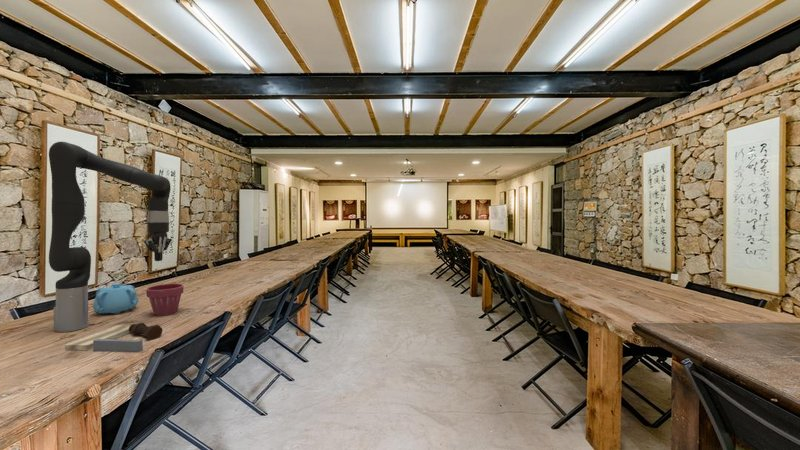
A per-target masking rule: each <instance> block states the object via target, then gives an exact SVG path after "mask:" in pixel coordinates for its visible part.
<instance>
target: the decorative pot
mask: <svg viewBox="0 0 800 450" xmlns="http://www.w3.org/2000/svg"><path fill="white" fill-rule="evenodd" d="M135 289H136V288H135V286H134V285H131V284H128V285H125V284H123V285H121V283H120V282H116V283H112V284H111V286H107V287H101V288H98V289H97V290H96V292H95V298H94V300H93V305H92V309H93V310H94V312H96V313H99V314H100V315H102V314H103V315H104V313H105V314H114V315H119V314H121V313H122V312H125V311H129V310H128V309H131V310H132V309H133V308H135V307H136V306H137V305H138V303H139V296H138V294H137V290H135ZM118 313H119V314H118Z"/></svg>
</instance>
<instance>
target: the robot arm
mask: <svg viewBox="0 0 800 450" xmlns="http://www.w3.org/2000/svg"><path fill="white" fill-rule="evenodd" d="M48 159H49V166H50V173H51V237H50V245H49V251H48V252H49V253H48V264H49V267H50V268H51V270H52V271H54V272H57V273H59V272H68V271H69V272H68V273H67V275H65V276H64V277H62V278H60V279H59V280H56V282H55V306H54V307H52V308H53V309H52V311H53V312H52V313H53V316H52V317H53V318H52V319H53V331H56V332H57V333H66V332H67V333H68V332H74V331H75V332H76V331H78V330H82V329H85V328H87V327H89V280H90V279H91V269H92V267H91V266H92V256H91V253H90V250H89V249H87V248H86V247H83V246H77V247H70V242H71V239H72V235H73V233H74V232H75V230H76V229H77V228H78V227H79V225H80V223H82V221H83V219H84V217H85V209H86V207H85V205H86V204H85V202H86V201H85V197H84V194H83V192H82V189H81V187H80V185H79V182H78V180H77V169H78V168H79V169H83V170H84V169H85V170H89V171H90V170H91V171H95V172H98V173H101V174H104V175H106V176H107V177H108V176H109V177H111V178H113V179H116V180H118V181H121V182H124V183H128V184H131V185H136V186H137V187H138V186H139V187H141V188H144V189H147V190H149V191H151V197H149V199H148V200H147V205H148V206H147V209H148V210H147V216H146V217H147V218H146V219H147V220H146V221H147V224H146V227H147V232H148V233H149V234H148V239H147V240H143V242H144V245H145V246H146V247H147V249H148V250H149V252H151V253H152V252H153V253H154V261H155V262H162V261H163V258H164V256H163V253H164V252H165V251H167V249H168V248H169V246H170V244H171V242H172V238H169V237H168V233H169V232H170V214H169V199H170V194H171V182H170V180H169V179H168V178H167V177H166V176H162V175H159V174H155V173H151V172H148V171H144V170H142V169H141V168H138V167H135V166H131V165H128V164H125V163H121V162H117V161H115V160H111V159H108V158H105V157H102V156H100V155H97V154H95V153H92V152H91V151H89V150H87V149H85V148H83V147H81V146H79V145H76V144H74V143H70V142H67V141H57V142H55V143H53V144H52V145H50V148H49V150H48Z"/></svg>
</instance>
